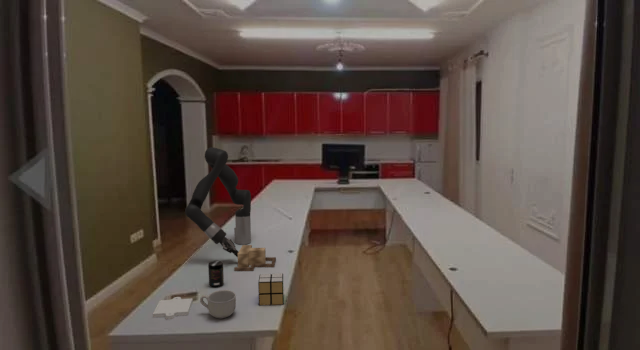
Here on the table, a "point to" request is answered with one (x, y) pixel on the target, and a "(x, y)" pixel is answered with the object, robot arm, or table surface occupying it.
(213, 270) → the supplement container
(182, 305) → the mounting plate
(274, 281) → the puzzle cube
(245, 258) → the T block
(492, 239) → the table surface
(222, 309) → the teacup
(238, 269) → the T outline
